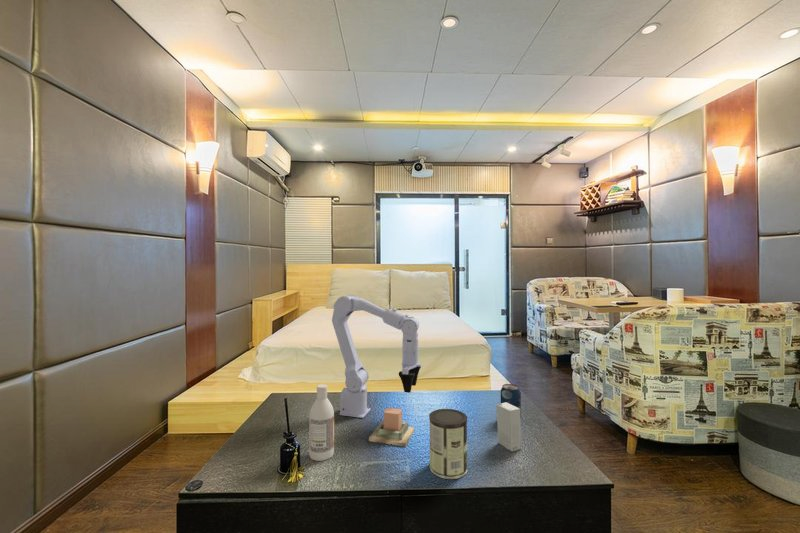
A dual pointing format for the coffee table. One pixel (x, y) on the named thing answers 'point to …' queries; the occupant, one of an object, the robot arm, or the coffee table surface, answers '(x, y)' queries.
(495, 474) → the coffee table surface
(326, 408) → the bath foam
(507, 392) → the soda can
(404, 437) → the socket stand
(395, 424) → the keyed peg
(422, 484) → the coffee table surface
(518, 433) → the skincare box
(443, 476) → the coffee can
